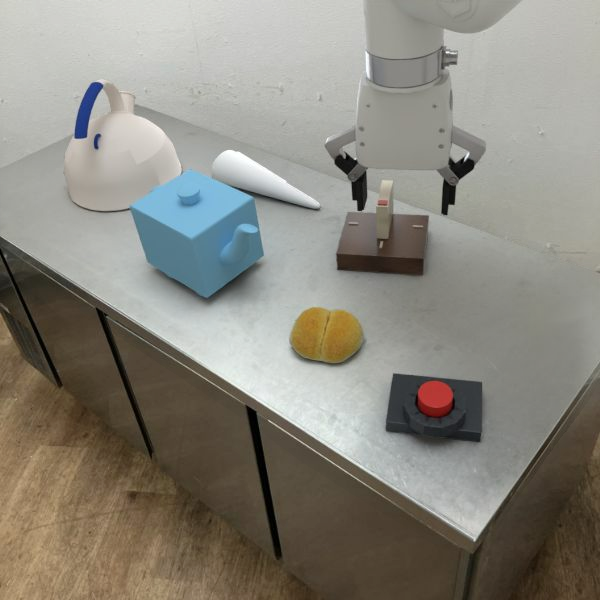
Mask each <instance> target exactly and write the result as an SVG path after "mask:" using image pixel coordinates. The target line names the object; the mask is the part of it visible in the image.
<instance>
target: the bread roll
mask: <svg viewBox="0 0 600 600" xmlns="http://www.w3.org/2000/svg"><path fill="white" fill-rule="evenodd" d="M288 341H289V344H290V346H291V347H292V349H293V350H294V351H295V352H296V353H297V354H298V355H299V356H301V357H303V358H305V359H309V360H313V361H320V362H321V361H322V362H324V363H329V364H339V363H342V362H345V361H346V360H347V359H349V358H350V357H352V356H353V355H355V354H356V353H357V352H358V351H359V350H360V349H361V347H362V345H363V341H364V330H363V326H362V324H361V322H360V321H359V319H358V318H357V317H356V316H354V315H353V314H352V313H350V312H349V311H347V310H345V309H340V308H339V309H332V310H330V309H327V308H325V307H321V306H311V307H309V308H306V309H305V310H304V311H302V312H301V313H300V315H298V316H297V318H296V319H295V321H294V322H293V325H292V328H291V330H290V332H289V337H288Z"/></svg>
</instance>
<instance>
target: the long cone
mask: <svg viewBox="0 0 600 600" xmlns="http://www.w3.org/2000/svg"><path fill="white" fill-rule="evenodd" d="M210 170H211V171H210V175H211V178H212V179H215V180H217V181H219V182H221V183H224V184H226V185H228V186H230V187H232V188H236V189H241V190H244V191H248V192H252V193H254V194H258V195H262V196H265V197H269V198H273V199H276V200H280V201H284V202H287V203H291V204H294V205H298V206H302V207H305V208H309V209H312V210H313V209H314V210H319V209H321V207H322V205H321V204H320V203H319V201H317V200H316V199H314V198H313V197H312V196H310V195H308V194H306V193H305V192H303V191H301V190H299V189H298V188H296V187H295V186H293V185H291V184H290V183H288V181H287V180H286V179H284V178H282V177H280V176H279V175H277V174H276V173H274V172H273V171H271V170H270V169H268V168H266V167H264V166H263V165H261V164H260V163H258V162H257V161H255V160H253V159H252V158H250V157H248V156H247V155H246V154H243V153H242V152H240V151H235V150H232V149H226V150H224V151H223V152H221V153H220V154H218V156H216V158H215V159H214V161H213V163H212V166H211V169H210Z"/></svg>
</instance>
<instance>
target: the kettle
mask: <svg viewBox="0 0 600 600" xmlns="http://www.w3.org/2000/svg"><path fill="white" fill-rule="evenodd" d="M102 90H103V91H104V92H105V95H106V97H107V99H108V102H109V107H110V111H109V112H107V113H105V114H101V115H98V116H96V117H94V118H92V119H90V118H91V114H92V111H93V108H94V106H95V102H96V100H97V99H98V96H99V94H100V93H101V91H102ZM136 98H137V97H136V96H135V94H134V93H132V92H131V91H128V90H120V91H119V88H118V87H117V86H116V85H115V84H114V82H112V81H110V80H107V79H105V78H100V79H97V80H95V81H94V82H91V83H90V84H89V86H88V87H87V88H86V90H85V92H84V95H83V97H82V99H81V101H80V105H79V107H78V109H77V114H76V119H75V125H74V134H73V136H72V138H71V139H70V141H69V144H68V146H67V148H66V149H65V152H64V160H63V161H64V164H63V176H64V180H65V183H66V187H67V191H68V195H69V197H70V199H71V201H72V202H74V203H75V204H77V205H78V206H79V207H82V208H83V209H84V208H85V209H88V210H91V211H96V212H117V211H119V212H120V211H125V210H130V207H129V206H130V205H131V204H133V203H134V202H136V201H138V200H140V199H141V198H143V197H144V196H146V195H148V194H149V193H150V191H151V190H152V189H153V188H154V187H156V186H159V185H164V184H166V183H168V182H169V181H171V180H173V179H174V178H176V177H178V176H180V175H181V174H182V171H183V169H182V164H181V161H180V160H179V156H178V155H177V152H176V149H175V146H174V143H173V142H172V140H171V139H170V138H169V137H168V136H167V134H166V133H165V132H164V131H163V129H161V127H159V126H158V125H156V124H155V123H153V122H152V121H150V120H149V119H146V118H145V117H143V116H139V115H135V106H136V105H135V104H136V103H135V100H136Z"/></svg>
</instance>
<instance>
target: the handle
mask: <svg viewBox="0 0 600 600" xmlns="http://www.w3.org/2000/svg"><path fill="white" fill-rule="evenodd" d="M375 207H376V208H375V213H376V223H377V238H378V239H388V237H389V232H390V227H391V222H392V217H393V214H394V180H388V179H387V180H385V179H382V180H381V184H380V188H379V191H378V197H377V200H376V205H375Z"/></svg>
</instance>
